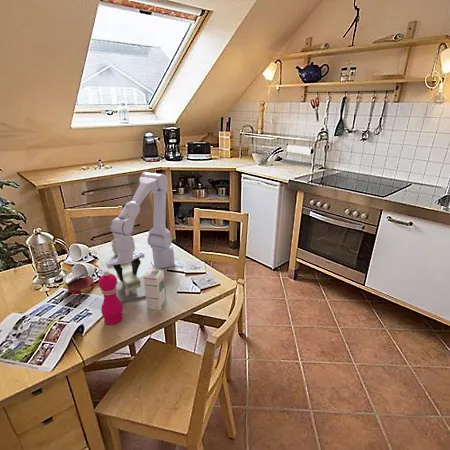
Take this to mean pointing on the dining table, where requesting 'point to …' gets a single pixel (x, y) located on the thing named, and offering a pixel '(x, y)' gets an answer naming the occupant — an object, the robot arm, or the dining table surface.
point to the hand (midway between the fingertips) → (128, 277)
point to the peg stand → (130, 292)
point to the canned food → (80, 284)
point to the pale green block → (129, 279)
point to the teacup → (116, 247)
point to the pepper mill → (110, 299)
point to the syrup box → (155, 288)
